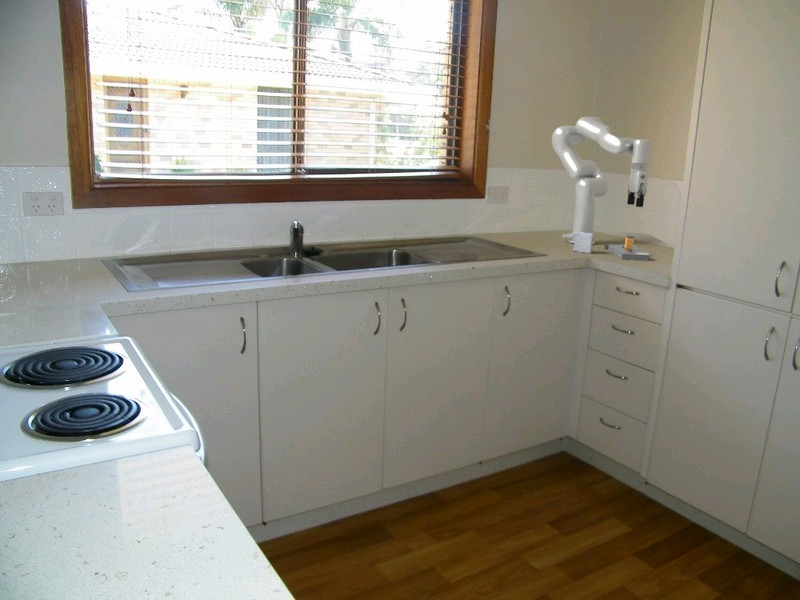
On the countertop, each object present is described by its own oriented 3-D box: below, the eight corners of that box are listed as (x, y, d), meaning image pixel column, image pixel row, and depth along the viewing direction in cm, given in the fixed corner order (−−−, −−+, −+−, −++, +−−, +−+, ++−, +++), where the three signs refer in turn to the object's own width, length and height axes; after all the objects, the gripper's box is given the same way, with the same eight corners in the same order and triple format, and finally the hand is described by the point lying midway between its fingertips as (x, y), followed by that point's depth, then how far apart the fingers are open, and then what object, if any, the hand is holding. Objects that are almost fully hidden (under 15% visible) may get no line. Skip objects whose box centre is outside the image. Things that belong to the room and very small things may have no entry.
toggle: (625, 253, 317) (627, 236, 315) (624, 252, 319) (626, 235, 317) (632, 254, 316) (634, 236, 315) (630, 253, 319) (632, 236, 317)
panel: (621, 259, 306) (622, 253, 306) (608, 249, 330) (608, 244, 329) (649, 260, 306) (650, 254, 305) (633, 250, 329) (634, 245, 329)
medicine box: (592, 252, 321) (594, 233, 319) (590, 253, 317) (592, 234, 315) (574, 250, 324) (576, 231, 322) (572, 251, 320) (574, 232, 318)
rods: (606, 249, 330) (606, 245, 330) (604, 247, 334) (604, 244, 334) (636, 250, 330) (636, 247, 330) (633, 249, 334) (634, 245, 333)
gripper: (655, 168, 307) (650, 208, 311) (639, 166, 324) (635, 203, 328) (639, 168, 307) (634, 207, 311) (623, 166, 323) (619, 203, 327)
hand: (634, 205), depth 319 cm, fingers open, 9 cm apart
